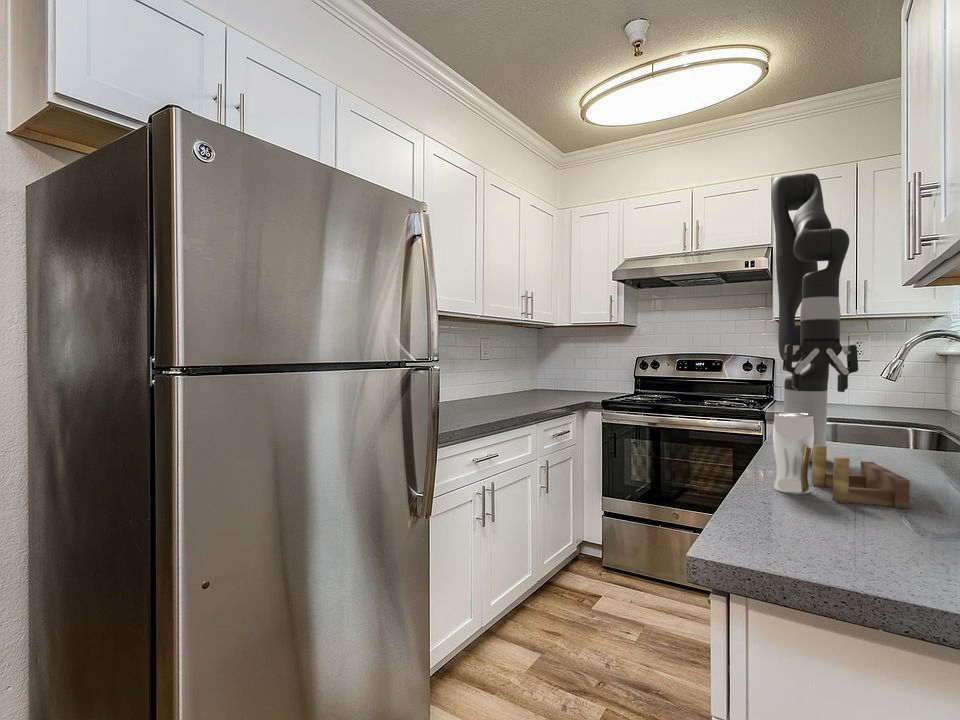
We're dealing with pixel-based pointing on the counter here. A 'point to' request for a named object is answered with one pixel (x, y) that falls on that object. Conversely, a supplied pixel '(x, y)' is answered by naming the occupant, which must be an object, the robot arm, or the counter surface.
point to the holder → (860, 481)
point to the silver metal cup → (792, 451)
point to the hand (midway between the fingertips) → (819, 391)
